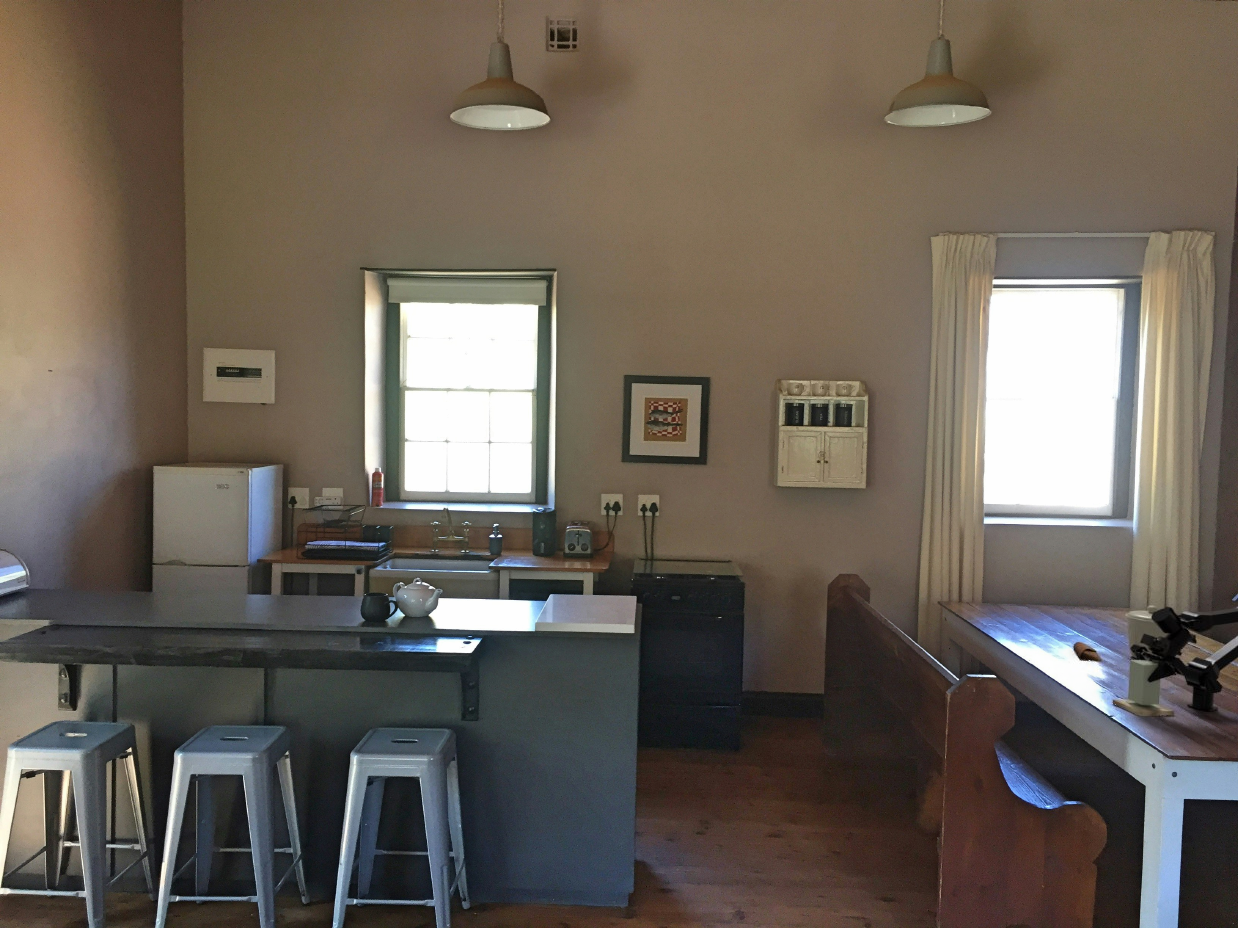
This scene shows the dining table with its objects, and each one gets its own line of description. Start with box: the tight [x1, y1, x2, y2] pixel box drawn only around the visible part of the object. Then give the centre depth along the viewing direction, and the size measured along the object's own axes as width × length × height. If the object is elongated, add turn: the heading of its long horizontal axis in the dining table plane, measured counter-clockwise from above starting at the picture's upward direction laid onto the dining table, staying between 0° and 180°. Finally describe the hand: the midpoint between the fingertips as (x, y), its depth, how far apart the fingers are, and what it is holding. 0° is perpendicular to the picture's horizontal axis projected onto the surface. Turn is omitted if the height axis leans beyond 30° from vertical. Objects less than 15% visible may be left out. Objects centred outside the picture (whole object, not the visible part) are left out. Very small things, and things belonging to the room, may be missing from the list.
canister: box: [1124, 605, 1168, 663], centre depth 347 cm, size 18×18×21 cm
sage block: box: [1127, 659, 1161, 705], centre depth 281 cm, size 6×6×12 cm
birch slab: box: [1112, 698, 1175, 717], centre depth 281 cm, size 12×12×2 cm
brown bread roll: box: [1072, 641, 1103, 663], centre depth 351 cm, size 18×7×7 cm, turn 161°
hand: (1140, 678), depth 281 cm, fingers open, 6 cm apart
